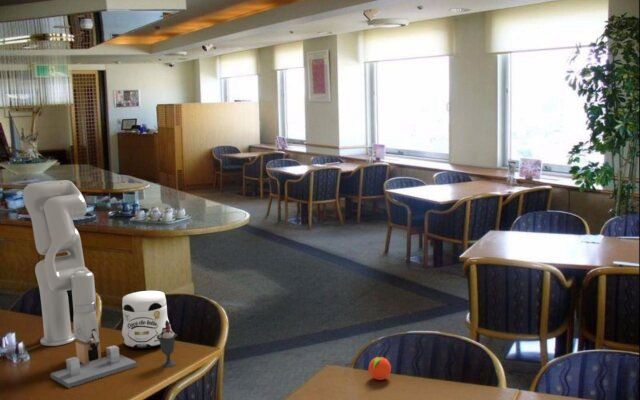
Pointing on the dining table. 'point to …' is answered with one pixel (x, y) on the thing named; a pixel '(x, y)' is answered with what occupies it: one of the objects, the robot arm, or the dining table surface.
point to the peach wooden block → (85, 351)
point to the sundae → (167, 344)
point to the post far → (113, 354)
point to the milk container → (144, 318)
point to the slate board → (93, 371)
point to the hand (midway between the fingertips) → (89, 357)
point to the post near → (73, 366)
